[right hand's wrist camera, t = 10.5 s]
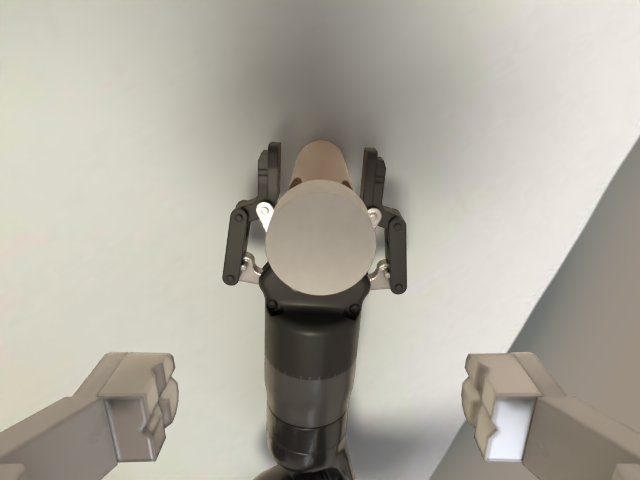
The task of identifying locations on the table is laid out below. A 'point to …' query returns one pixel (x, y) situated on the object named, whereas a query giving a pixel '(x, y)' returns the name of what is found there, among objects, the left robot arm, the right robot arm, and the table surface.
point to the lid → (320, 238)
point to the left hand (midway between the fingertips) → (322, 147)
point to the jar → (320, 164)
